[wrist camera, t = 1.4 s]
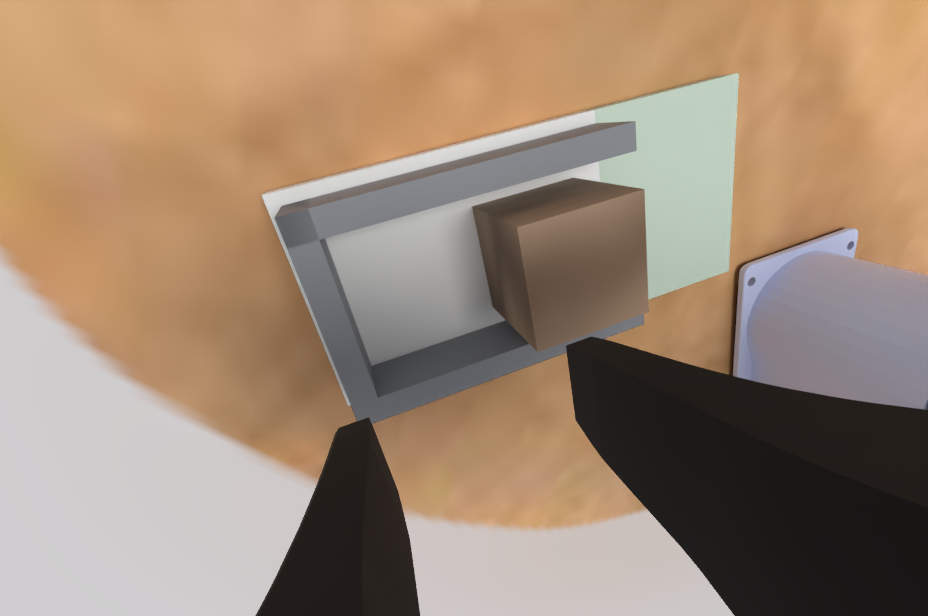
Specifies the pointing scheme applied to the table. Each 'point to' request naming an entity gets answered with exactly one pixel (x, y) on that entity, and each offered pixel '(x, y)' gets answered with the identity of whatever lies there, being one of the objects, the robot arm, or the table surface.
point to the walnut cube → (565, 258)
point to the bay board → (457, 244)
